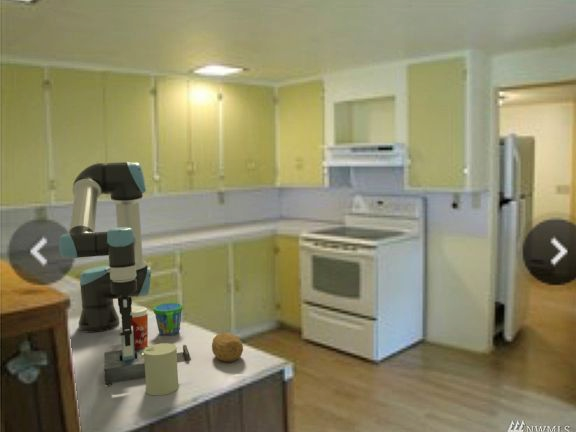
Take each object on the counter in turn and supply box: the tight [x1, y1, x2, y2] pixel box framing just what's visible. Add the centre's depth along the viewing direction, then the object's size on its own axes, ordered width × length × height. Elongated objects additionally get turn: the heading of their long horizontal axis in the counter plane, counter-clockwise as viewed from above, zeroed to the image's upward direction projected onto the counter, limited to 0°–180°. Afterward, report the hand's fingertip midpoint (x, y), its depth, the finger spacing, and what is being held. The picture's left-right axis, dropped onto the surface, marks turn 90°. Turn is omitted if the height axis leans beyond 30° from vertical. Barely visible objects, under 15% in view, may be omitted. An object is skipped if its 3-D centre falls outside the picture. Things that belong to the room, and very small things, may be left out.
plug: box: [119, 326, 135, 361], centre depth 155 cm, size 4×4×14 cm
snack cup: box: [153, 302, 184, 337], centre depth 191 cm, size 16×10×10 cm
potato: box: [211, 332, 244, 363], centre depth 163 cm, size 10×14×8 cm
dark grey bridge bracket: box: [177, 344, 192, 363], centre depth 165 cm, size 8×8×3 cm
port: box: [103, 345, 150, 387], centre depth 155 cm, size 14×14×5 cm
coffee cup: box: [130, 306, 149, 348], centre depth 171 cm, size 8×8×15 cm
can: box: [143, 342, 180, 396], centre depth 144 cm, size 9×9×12 cm
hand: (127, 347), depth 155 cm, fingers open, 13 cm apart
